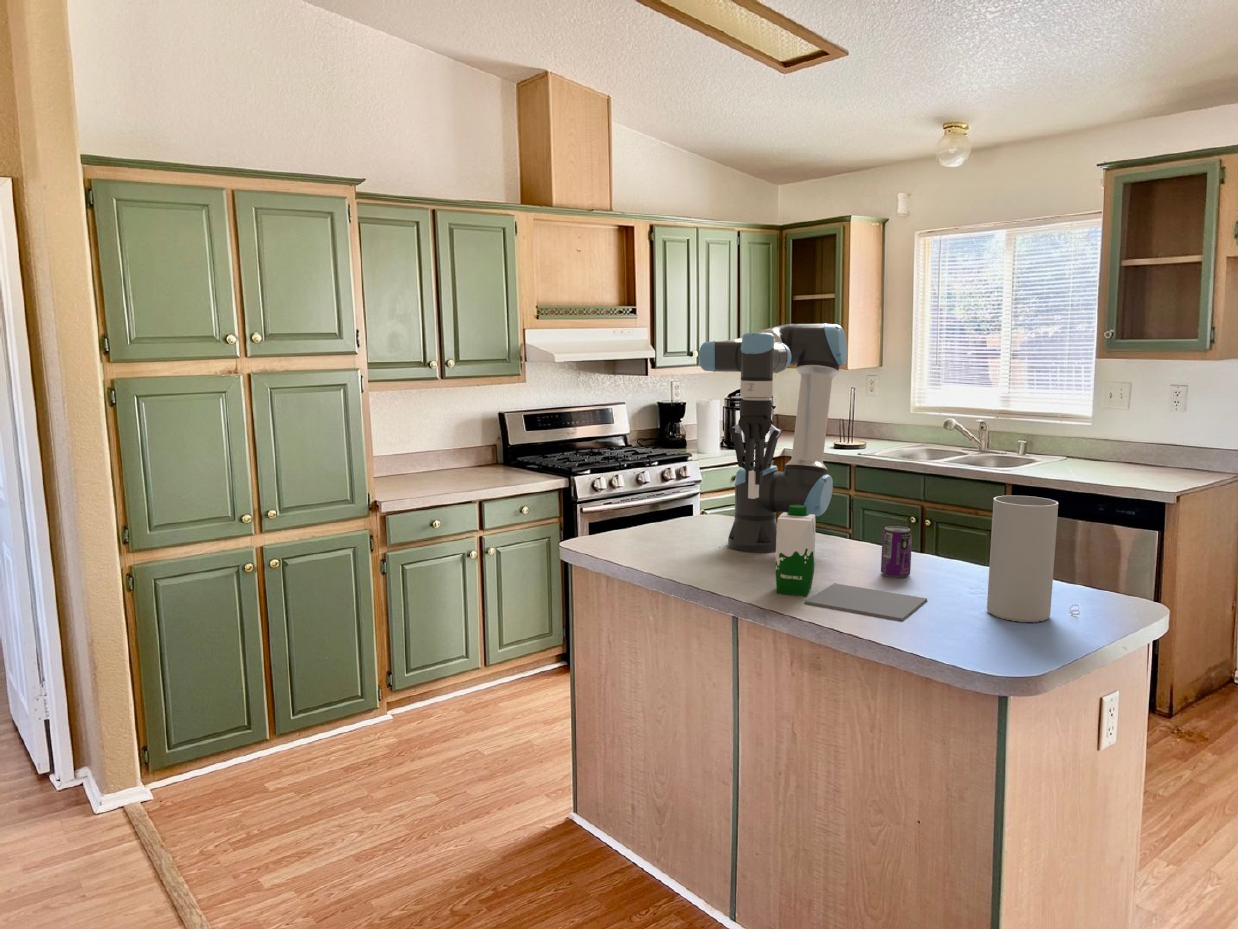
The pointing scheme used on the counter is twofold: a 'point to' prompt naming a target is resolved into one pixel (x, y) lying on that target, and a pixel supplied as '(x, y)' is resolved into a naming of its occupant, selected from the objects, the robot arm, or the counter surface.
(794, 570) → the soya milk
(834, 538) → the counter surface
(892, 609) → the mat
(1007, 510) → the cylinder vase
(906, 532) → the beverage can
